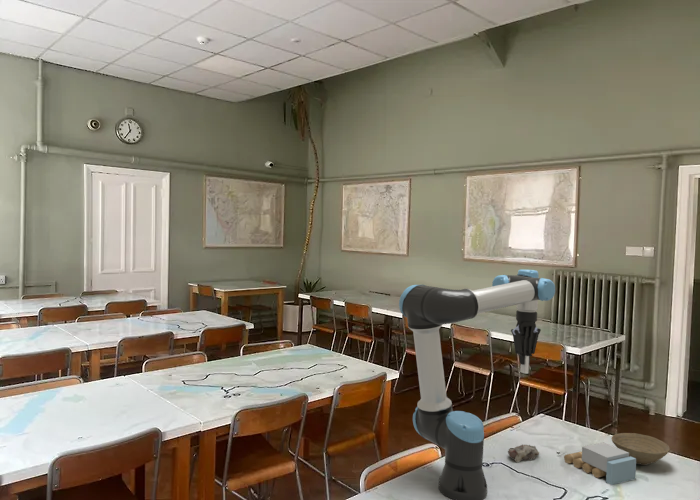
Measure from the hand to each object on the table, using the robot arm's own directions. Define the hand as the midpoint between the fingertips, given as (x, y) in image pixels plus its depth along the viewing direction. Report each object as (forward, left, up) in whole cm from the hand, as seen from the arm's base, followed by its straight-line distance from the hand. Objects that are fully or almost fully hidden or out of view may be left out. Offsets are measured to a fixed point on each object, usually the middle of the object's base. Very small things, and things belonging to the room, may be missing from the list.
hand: (524, 372), depth 194 cm
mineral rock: (-2, -3, -31) cm, 31 cm away
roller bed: (+15, -19, -30) cm, 39 cm away
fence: (+15, -30, -30) cm, 46 cm away
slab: (+15, -24, -27) cm, 39 cm away
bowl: (+35, -23, -31) cm, 52 cm away
